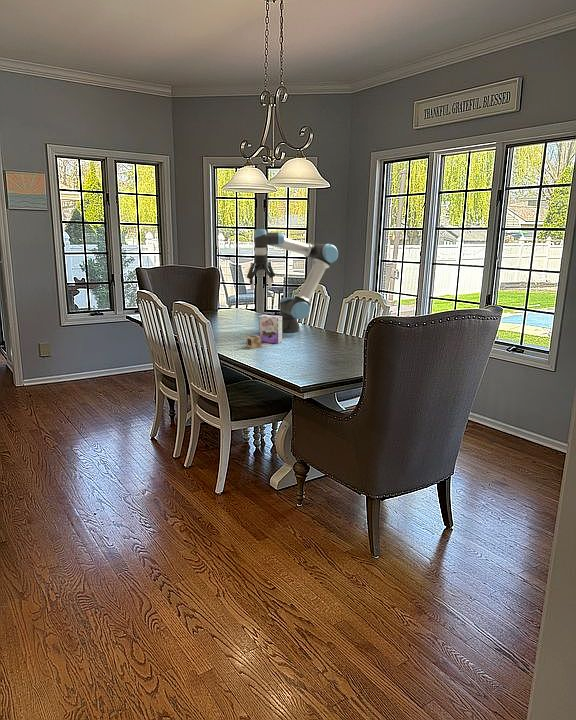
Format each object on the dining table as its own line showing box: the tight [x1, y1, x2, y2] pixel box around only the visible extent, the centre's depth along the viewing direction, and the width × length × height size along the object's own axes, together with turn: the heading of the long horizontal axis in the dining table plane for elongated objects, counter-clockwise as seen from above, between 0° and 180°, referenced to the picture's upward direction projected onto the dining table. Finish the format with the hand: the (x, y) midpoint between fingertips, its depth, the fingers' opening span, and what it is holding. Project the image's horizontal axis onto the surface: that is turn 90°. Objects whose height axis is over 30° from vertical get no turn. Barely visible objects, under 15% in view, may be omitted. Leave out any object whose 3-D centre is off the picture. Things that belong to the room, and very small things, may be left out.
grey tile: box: [261, 342, 273, 348], centre depth 321 cm, size 7×7×1 cm
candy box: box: [258, 314, 283, 345], centre depth 329 cm, size 14×6×16 cm, turn 62°
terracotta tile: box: [245, 345, 263, 350], centre depth 316 cm, size 7×7×1 cm
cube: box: [246, 334, 262, 349], centre depth 316 cm, size 6×6×6 cm
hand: (261, 288), depth 337 cm, fingers open, 13 cm apart
